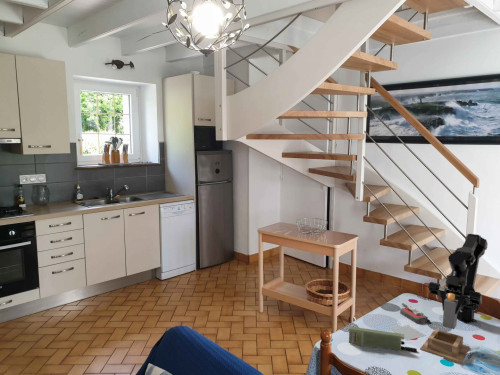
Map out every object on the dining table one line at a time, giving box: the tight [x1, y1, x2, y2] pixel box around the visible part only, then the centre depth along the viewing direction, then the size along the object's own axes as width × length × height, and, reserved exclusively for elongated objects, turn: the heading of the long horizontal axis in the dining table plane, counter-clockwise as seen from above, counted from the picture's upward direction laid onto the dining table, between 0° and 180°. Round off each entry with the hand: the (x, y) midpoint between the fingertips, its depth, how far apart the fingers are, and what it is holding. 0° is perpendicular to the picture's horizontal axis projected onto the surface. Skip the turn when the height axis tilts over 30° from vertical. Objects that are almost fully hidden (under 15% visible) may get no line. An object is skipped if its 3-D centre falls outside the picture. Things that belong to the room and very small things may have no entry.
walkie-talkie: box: [399, 302, 431, 324], centre depth 178 cm, size 9×4×20 cm
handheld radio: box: [348, 326, 418, 353], centre depth 149 cm, size 7×3×25 cm
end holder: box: [419, 328, 470, 365], centre depth 147 cm, size 14×14×5 cm
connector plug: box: [442, 293, 458, 330], centre depth 150 cm, size 4×4×13 cm
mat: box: [389, 324, 427, 341], centre depth 160 cm, size 10×10×1 cm
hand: (449, 312), depth 149 cm, fingers closed on connector plug, 4 cm apart
